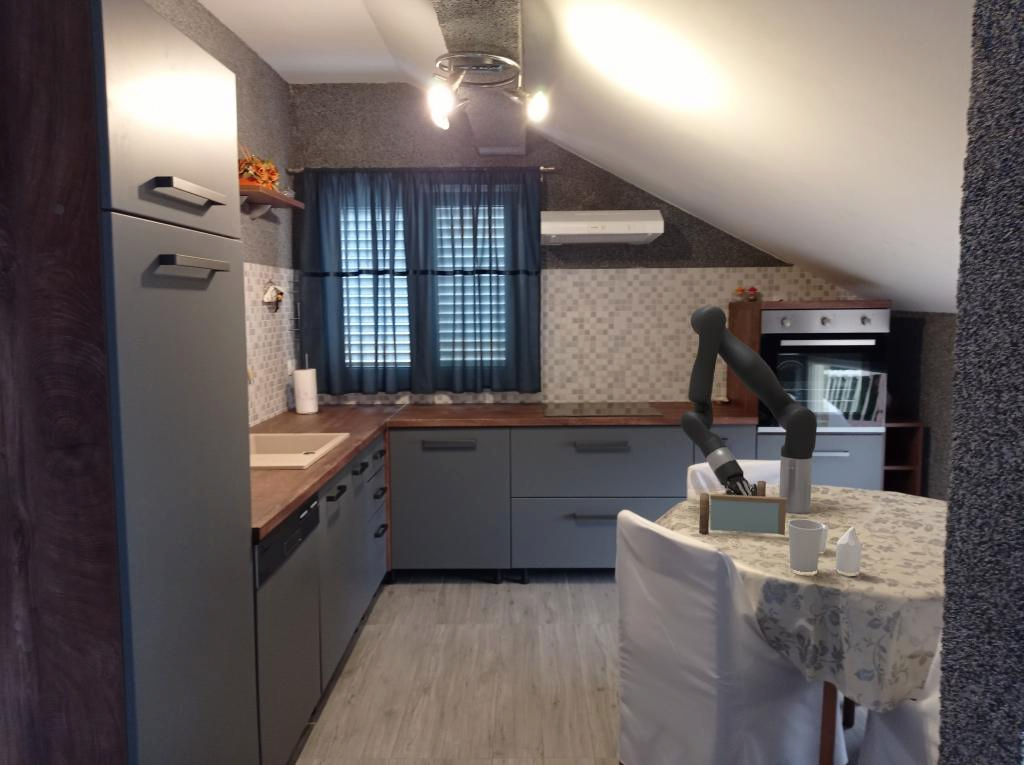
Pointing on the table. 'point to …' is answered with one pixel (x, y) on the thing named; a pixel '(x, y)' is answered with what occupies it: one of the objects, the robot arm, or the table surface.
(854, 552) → the white pointed prism
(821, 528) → the cup
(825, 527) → the shot glass
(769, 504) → the gate
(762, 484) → the gate posts
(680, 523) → the table surface
